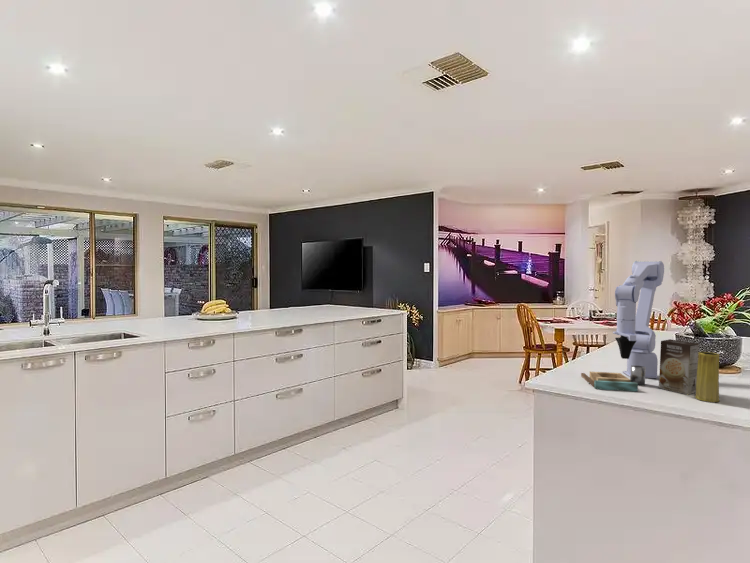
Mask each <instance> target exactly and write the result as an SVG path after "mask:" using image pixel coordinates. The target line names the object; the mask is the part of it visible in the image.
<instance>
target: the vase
mask: <svg viewBox="0 0 750 563" xmlns="http://www.w3.org/2000/svg"><path fill="white" fill-rule="evenodd" d="M719 380H720V353H716V352H712V351H698V366H697V381H696V392H695V396H694V398H695V399H696V400H698V401H702V402H706V403H707V402H708V403H718V402H720V382H719Z"/></svg>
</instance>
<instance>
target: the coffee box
mask: <svg viewBox="0 0 750 563" xmlns="http://www.w3.org/2000/svg"><path fill="white" fill-rule="evenodd" d="M699 345H700V344H699V343H696V342H691V341H689V342H688V341H683V340H676V339H665V340H664V339H663V340H661V341H660V350H659V351H660V355H659V359H660V360H659V377H658V389H662V390H666V391H670V392H674V393H678V392H679V393H680V394H684V395H687V394H688V395H691V394H694V393H695V394H696V381H697V367H698V352H699ZM679 393H678V394H679Z"/></svg>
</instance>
